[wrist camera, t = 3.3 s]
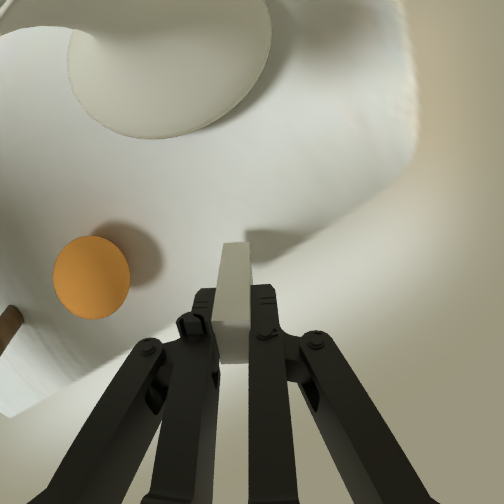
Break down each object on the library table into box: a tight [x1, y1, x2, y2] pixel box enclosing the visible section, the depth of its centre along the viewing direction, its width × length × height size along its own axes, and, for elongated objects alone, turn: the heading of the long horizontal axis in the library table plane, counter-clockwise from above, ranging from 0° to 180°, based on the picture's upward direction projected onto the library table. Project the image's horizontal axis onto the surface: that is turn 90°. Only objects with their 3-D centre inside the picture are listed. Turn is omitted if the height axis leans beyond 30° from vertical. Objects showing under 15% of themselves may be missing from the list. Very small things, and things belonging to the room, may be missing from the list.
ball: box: [53, 236, 130, 319], centre depth 17 cm, size 6×6×6 cm
